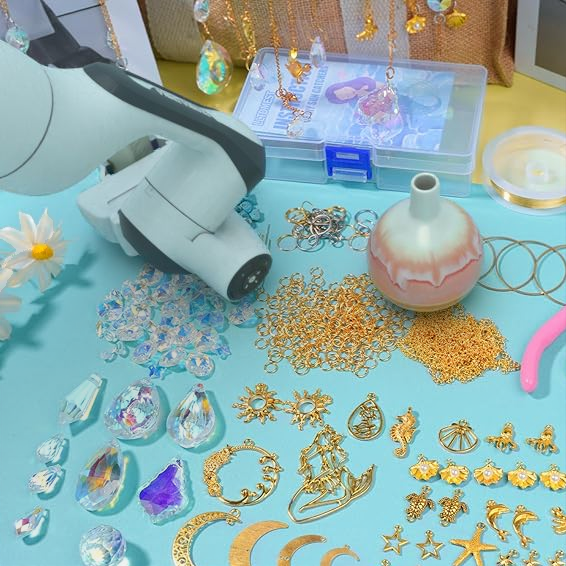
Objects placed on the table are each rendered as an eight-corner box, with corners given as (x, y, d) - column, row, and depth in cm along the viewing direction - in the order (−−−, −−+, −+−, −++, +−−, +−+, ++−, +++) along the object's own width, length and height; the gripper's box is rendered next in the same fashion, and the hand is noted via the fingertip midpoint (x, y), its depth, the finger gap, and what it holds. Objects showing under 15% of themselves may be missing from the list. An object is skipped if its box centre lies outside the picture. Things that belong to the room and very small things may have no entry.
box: (137, 171, 117) (113, 108, 108) (164, 176, 116) (143, 113, 107) (120, 197, 114) (94, 135, 105) (148, 203, 113) (124, 141, 104)
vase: (363, 329, 98) (353, 228, 84) (374, 241, 106) (366, 135, 91) (480, 334, 96) (490, 232, 82) (482, 245, 104) (492, 137, 89)
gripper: (243, 147, 104) (185, 95, 111) (103, 229, 98) (50, 169, 105) (251, 183, 110) (195, 131, 116) (119, 263, 103) (67, 204, 110)
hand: (125, 150), depth 110 cm, fingers closed on box, 6 cm apart
